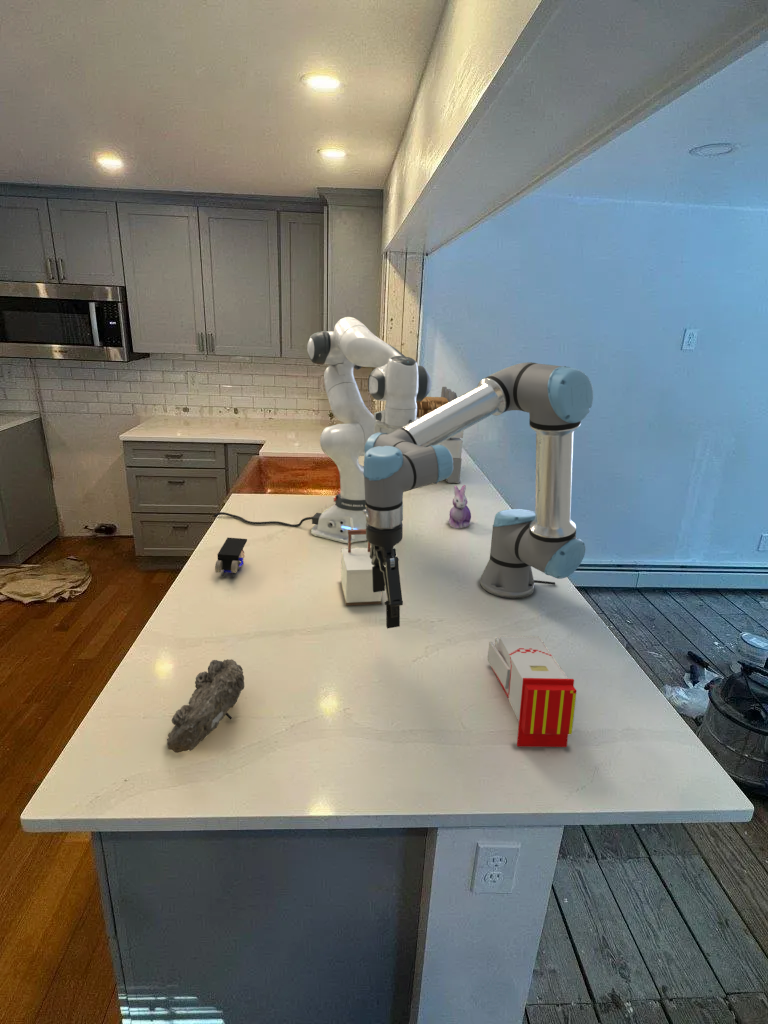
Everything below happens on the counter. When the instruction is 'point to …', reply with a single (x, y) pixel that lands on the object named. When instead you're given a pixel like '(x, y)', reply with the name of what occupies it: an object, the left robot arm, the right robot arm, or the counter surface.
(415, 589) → the counter surface
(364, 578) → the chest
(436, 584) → the counter surface
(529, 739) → the toy
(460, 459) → the transformer
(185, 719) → the fossil
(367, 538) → the right robot arm
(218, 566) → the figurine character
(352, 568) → the lid
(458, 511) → the figurine
